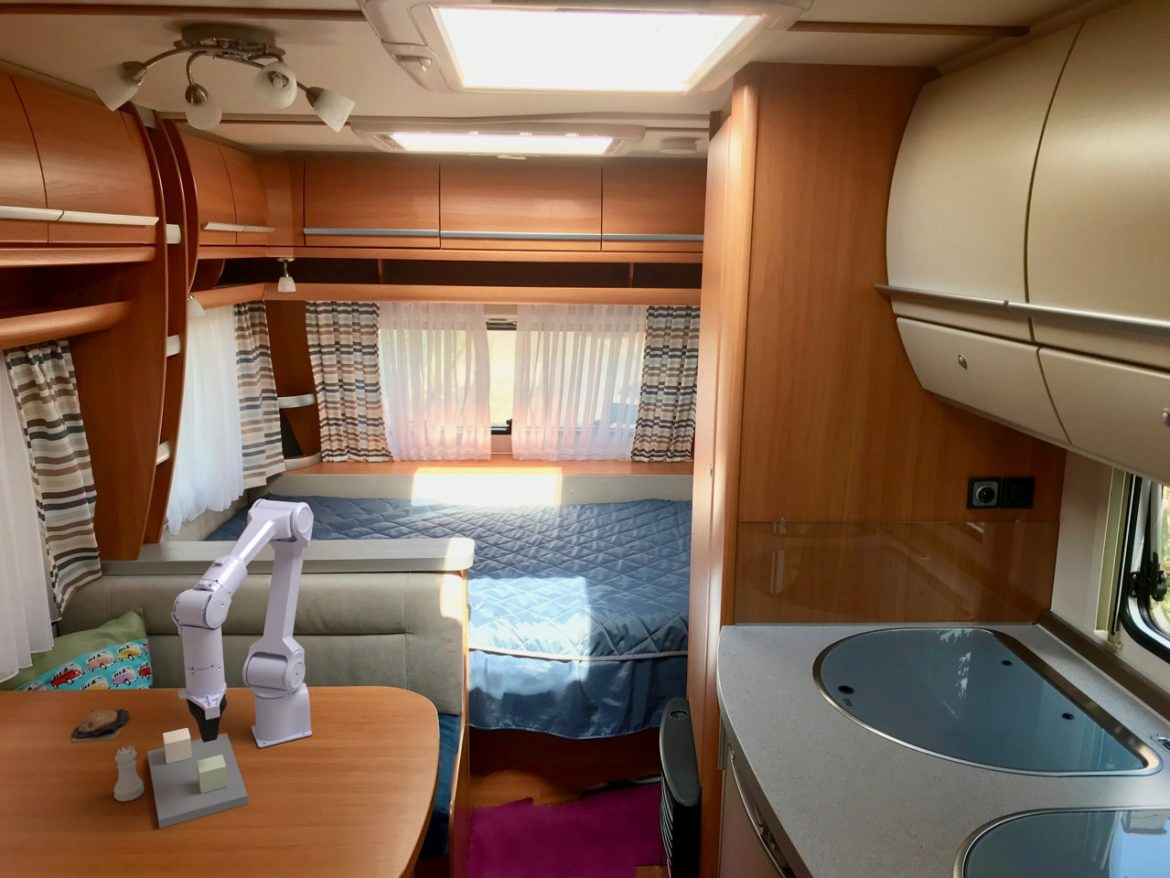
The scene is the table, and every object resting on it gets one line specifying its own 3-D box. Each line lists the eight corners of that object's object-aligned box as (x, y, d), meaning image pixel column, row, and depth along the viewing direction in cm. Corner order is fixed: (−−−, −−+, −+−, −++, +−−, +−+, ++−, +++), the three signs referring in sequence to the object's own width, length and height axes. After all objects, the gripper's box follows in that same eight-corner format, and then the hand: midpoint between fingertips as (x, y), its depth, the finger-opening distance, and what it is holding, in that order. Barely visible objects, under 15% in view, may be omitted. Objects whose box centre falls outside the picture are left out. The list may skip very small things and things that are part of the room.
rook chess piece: (131, 804, 138) (127, 759, 137) (107, 800, 139) (103, 755, 138) (150, 788, 143) (146, 744, 141) (127, 785, 143) (123, 741, 142)
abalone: (115, 743, 157) (114, 725, 156) (66, 746, 156) (64, 727, 155) (136, 714, 167) (134, 696, 167) (89, 716, 166) (88, 698, 165)
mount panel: (227, 740, 158) (225, 720, 157) (248, 803, 139) (246, 781, 138) (148, 759, 151) (146, 738, 150) (159, 828, 132) (157, 805, 132)
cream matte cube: (189, 746, 152) (187, 727, 152) (192, 757, 149) (190, 738, 148) (164, 752, 150) (162, 733, 150) (166, 763, 147) (165, 744, 146)
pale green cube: (223, 774, 144) (222, 754, 143) (227, 786, 141) (226, 766, 140) (197, 781, 142) (196, 760, 141) (201, 793, 139) (199, 773, 138)
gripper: (172, 649, 141) (177, 725, 144) (181, 686, 129) (188, 768, 132) (217, 641, 145) (222, 714, 148) (231, 676, 133) (236, 755, 135)
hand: (209, 739), depth 140 cm, fingers closed
